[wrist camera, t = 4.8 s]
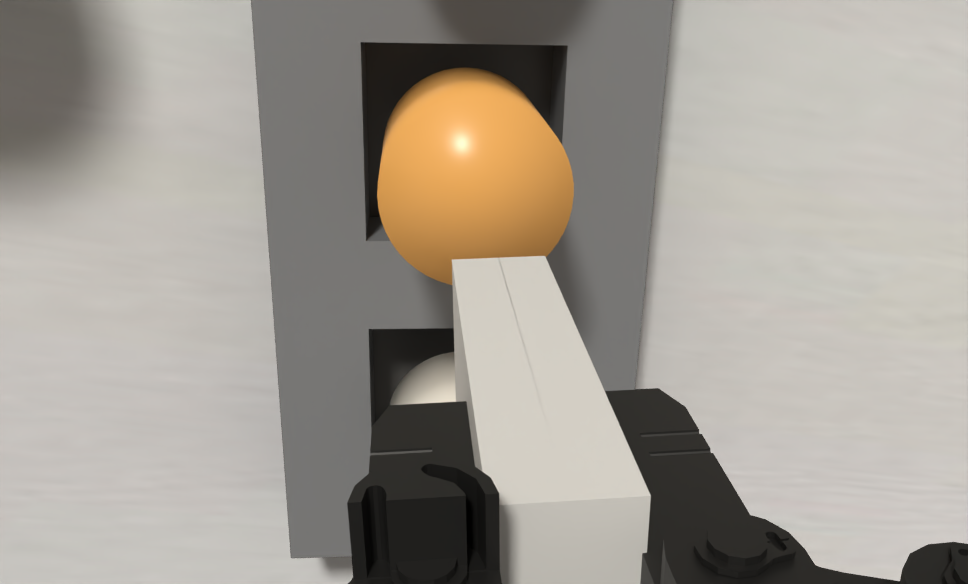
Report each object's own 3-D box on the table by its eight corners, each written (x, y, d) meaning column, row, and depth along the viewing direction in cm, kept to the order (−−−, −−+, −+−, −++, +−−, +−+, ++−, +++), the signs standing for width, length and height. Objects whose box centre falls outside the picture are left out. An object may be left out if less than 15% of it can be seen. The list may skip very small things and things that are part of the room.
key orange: (384, 227, 27) (379, 288, 22) (381, 66, 25) (375, 95, 20) (540, 227, 27) (567, 286, 22) (548, 68, 25) (580, 97, 21)
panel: (300, 508, 34) (290, 558, 32) (238, -442, 23) (215, -494, 20) (602, 500, 35) (619, 548, 32) (682, -415, 24) (718, -461, 21)
